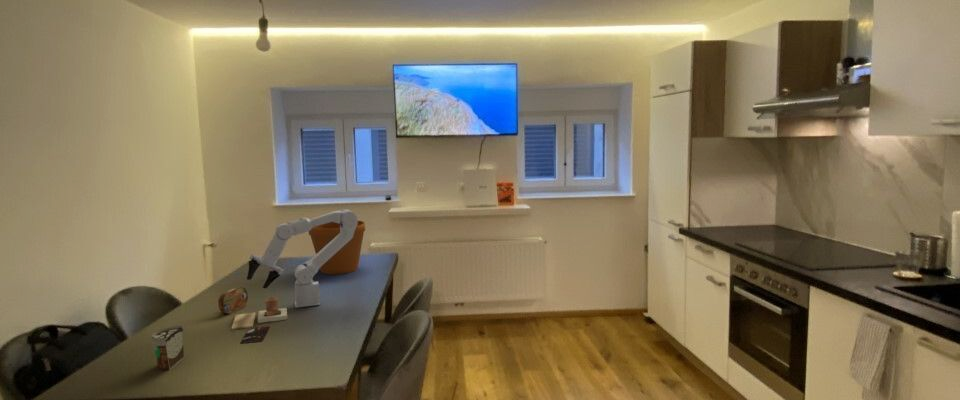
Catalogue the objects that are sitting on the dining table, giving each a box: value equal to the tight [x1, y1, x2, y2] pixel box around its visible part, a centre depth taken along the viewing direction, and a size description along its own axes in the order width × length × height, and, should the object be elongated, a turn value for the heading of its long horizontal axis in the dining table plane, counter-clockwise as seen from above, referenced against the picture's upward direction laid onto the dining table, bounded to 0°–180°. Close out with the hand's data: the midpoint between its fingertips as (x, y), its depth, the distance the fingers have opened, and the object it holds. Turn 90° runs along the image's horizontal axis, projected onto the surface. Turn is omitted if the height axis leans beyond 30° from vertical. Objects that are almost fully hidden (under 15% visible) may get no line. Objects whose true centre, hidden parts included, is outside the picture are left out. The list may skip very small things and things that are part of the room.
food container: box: [150, 324, 185, 371], centre depth 162 cm, size 12×6×10 cm, turn 5°
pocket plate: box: [257, 307, 288, 324], centre depth 204 cm, size 10×10×2 cm
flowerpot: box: [308, 220, 366, 275], centre depth 276 cm, size 28×28×24 cm
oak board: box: [230, 312, 257, 331], centre depth 199 cm, size 7×16×1 cm, turn 19°
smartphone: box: [239, 325, 271, 345], centre depth 185 cm, size 7×1×15 cm
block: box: [265, 297, 280, 316], centre depth 203 cm, size 4×4×7 cm
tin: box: [217, 286, 249, 315], centre depth 213 cm, size 15×3×8 cm, turn 168°
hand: (256, 283), depth 210 cm, fingers open, 7 cm apart
